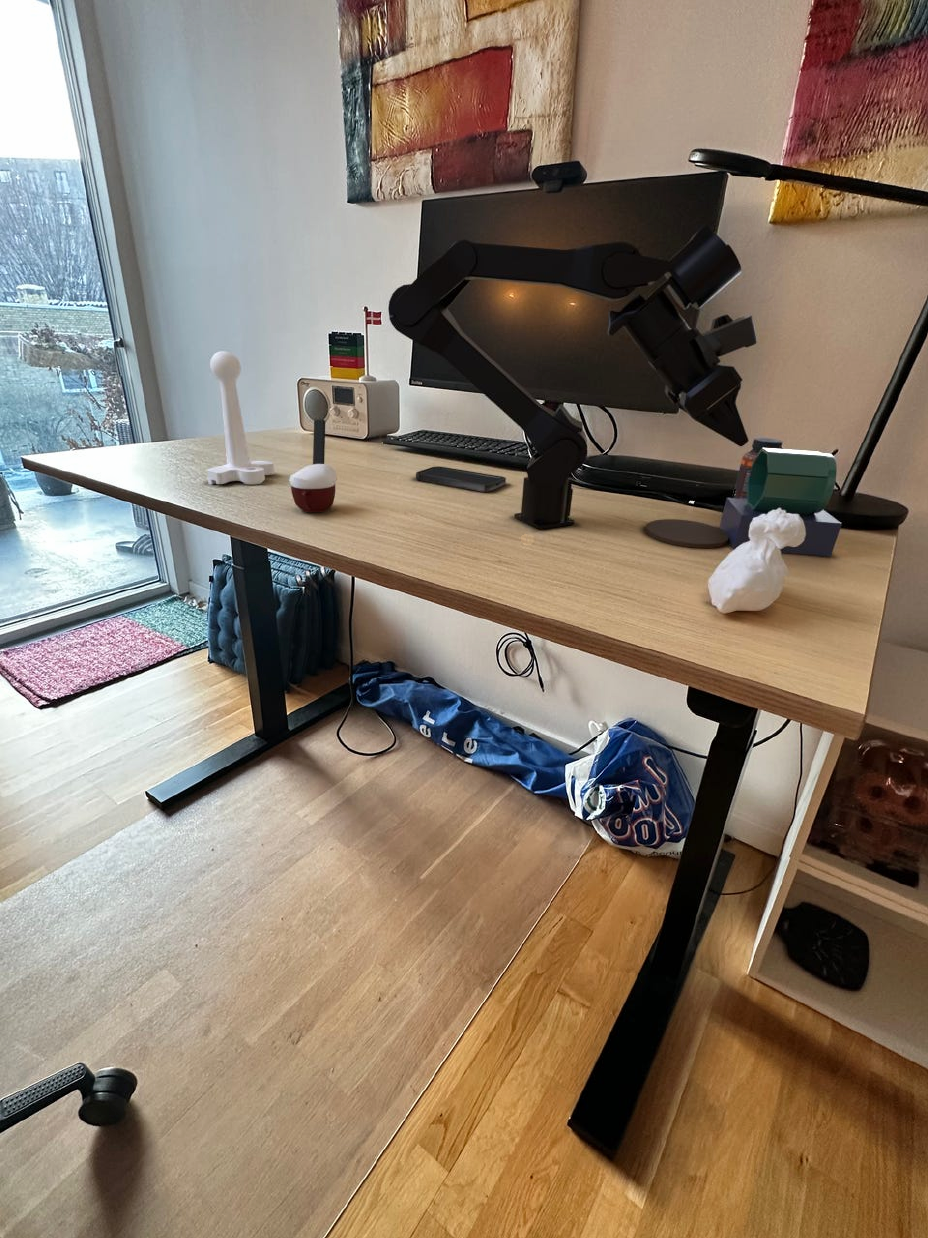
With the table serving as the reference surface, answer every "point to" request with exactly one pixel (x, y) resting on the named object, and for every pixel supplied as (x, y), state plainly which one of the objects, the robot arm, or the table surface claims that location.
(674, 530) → the coaster
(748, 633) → the table surface
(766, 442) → the supplement bottle
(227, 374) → the joystick
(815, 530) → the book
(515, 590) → the table surface
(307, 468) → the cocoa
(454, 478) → the phone
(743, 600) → the white tied sack
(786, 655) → the table surface
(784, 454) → the cup
